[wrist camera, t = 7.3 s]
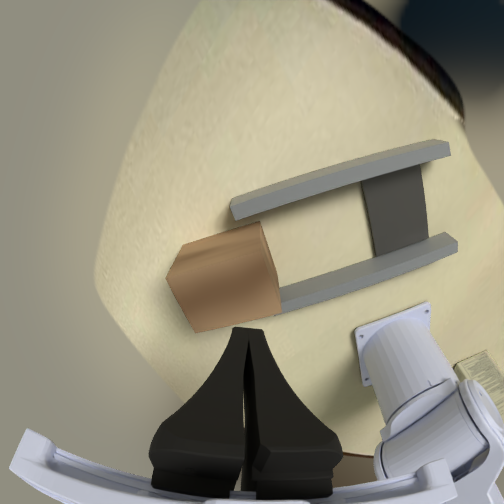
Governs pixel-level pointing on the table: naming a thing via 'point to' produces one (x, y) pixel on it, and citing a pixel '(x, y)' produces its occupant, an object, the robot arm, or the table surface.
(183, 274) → the walnut block
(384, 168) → the channel
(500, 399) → the skincare box
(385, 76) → the table surface
